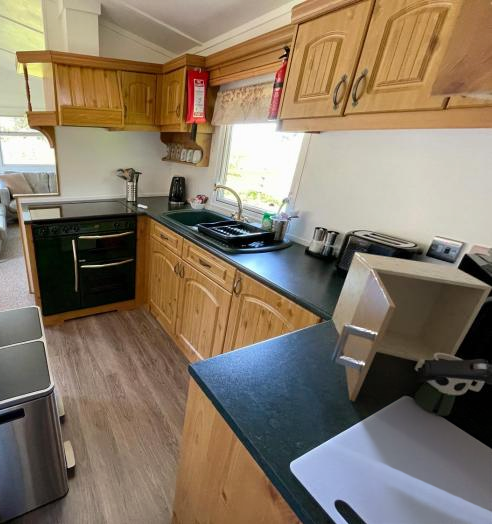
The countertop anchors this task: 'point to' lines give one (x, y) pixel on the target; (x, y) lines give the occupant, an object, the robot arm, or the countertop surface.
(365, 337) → the cupboard door
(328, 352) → the countertop surface
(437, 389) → the character mug
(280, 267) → the countertop surface
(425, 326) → the cupboard
